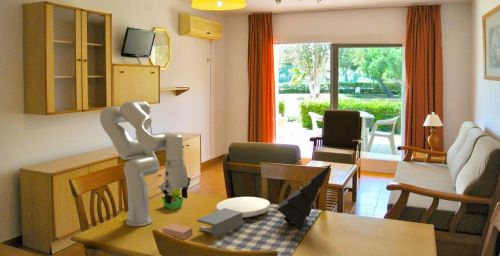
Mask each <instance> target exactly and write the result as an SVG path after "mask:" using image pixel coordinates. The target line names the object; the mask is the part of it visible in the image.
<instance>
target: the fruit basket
mask: <svg viewBox="0 0 500 256" xmlns="http://www.w3.org/2000/svg"><path fill="white" fill-rule="evenodd" d="M181 189H182V188H180V189H176V190H172V191H171V193H170V195H171V204H168V203H165V196H162V197H161V200H162V203H163V206H164V207H165V208H167V209H170V210H173V211H174V210H179V209H182V206H183V201H184V198H182V196H181Z"/></svg>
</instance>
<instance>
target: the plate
mask: <svg viewBox="0 0 500 256" xmlns="http://www.w3.org/2000/svg"><path fill="white" fill-rule="evenodd" d="M224 208H226V209H230V210H234V211H239V212H242V218H250V217H256V216H259V215H263V214H264V213H266V212H267V211H269V209H270V208H271V202H270V201H269V200H267V199H266V198H262V197H256V196H240V197H239V196H237V197H231V198H227V199H224V200H222V201H220V202H218V203H217V204H216V205H215V212H216V211H219V210H221V209H224Z"/></svg>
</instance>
